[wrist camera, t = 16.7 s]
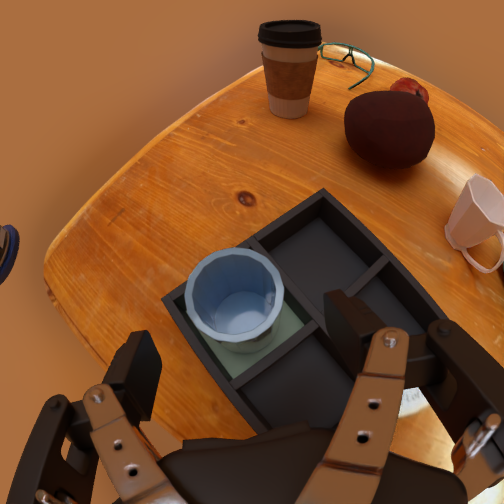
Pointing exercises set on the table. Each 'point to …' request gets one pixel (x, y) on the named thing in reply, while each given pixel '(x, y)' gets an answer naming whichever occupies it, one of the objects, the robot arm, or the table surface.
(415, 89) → the pomegranate
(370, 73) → the sunglasses
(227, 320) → the blue cup
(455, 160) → the table surface
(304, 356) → the black divided tray
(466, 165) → the table surface
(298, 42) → the coffee cup
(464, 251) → the cup
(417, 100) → the dark brown oval ball
